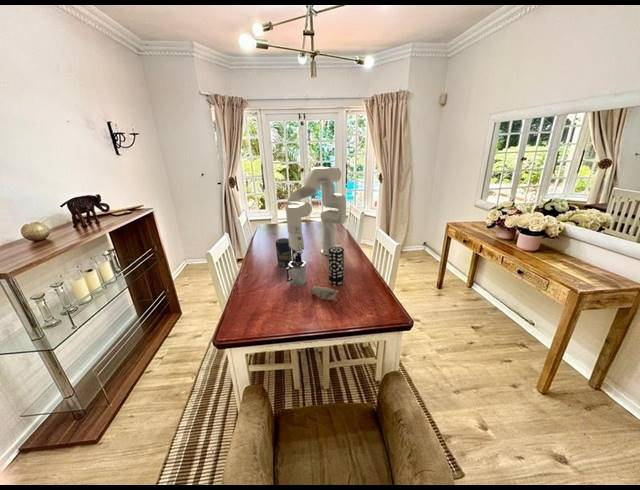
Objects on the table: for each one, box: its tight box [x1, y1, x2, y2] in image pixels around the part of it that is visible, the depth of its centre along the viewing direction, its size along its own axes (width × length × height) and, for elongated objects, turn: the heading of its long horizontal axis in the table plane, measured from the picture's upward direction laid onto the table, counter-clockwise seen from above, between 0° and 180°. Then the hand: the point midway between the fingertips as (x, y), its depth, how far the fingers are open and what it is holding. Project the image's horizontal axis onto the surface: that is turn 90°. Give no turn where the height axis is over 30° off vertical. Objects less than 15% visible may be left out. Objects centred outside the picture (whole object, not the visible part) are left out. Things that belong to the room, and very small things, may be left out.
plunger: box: [292, 251, 302, 267], centre depth 139 cm, size 6×6×16 cm
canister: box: [275, 237, 293, 267], centre depth 162 cm, size 10×10×18 cm
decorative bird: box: [311, 285, 341, 306], centre depth 125 cm, size 5×16×7 cm, turn 56°
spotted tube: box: [328, 247, 345, 287], centre depth 138 cm, size 8×8×20 cm
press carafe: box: [285, 259, 307, 287], centre depth 140 cm, size 11×9×12 cm
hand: (296, 260), depth 138 cm, fingers closed on plunger, 3 cm apart
